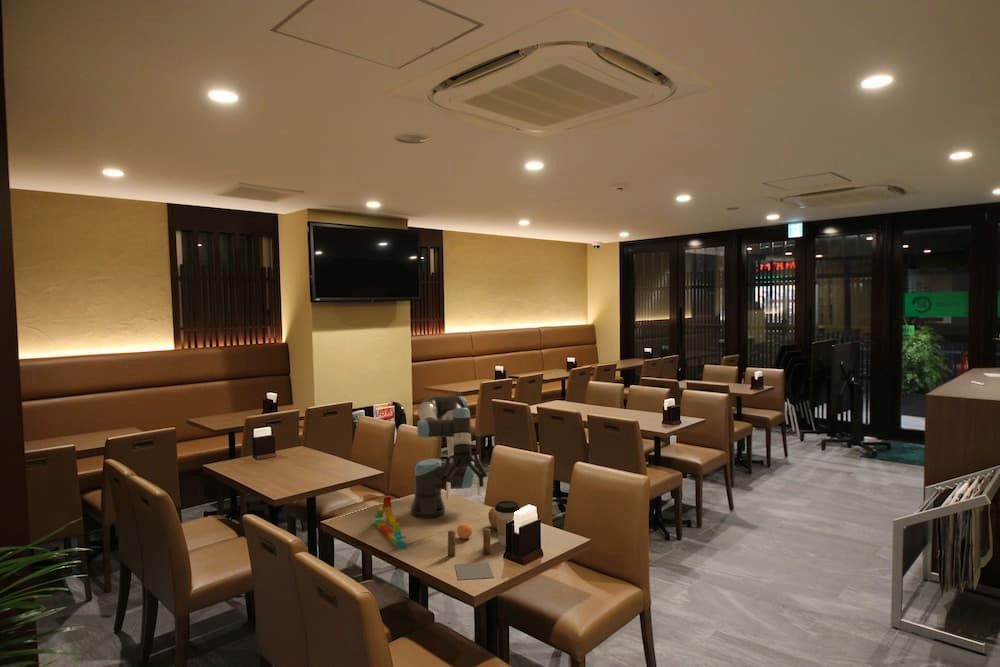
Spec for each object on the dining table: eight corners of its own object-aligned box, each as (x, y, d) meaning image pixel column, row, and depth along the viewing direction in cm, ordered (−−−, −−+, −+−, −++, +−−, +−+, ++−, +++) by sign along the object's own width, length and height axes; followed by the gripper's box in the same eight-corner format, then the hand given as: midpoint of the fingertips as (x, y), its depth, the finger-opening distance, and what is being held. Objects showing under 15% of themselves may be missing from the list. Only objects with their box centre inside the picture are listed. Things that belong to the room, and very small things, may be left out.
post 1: (447, 554, 216) (447, 530, 216) (454, 554, 217) (454, 530, 216) (448, 557, 214) (448, 533, 213) (455, 557, 214) (455, 532, 214)
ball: (456, 535, 235) (456, 521, 234) (471, 535, 236) (471, 520, 235) (457, 541, 229) (457, 526, 228) (472, 540, 230) (473, 525, 229)
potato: (497, 536, 234) (497, 517, 234) (483, 525, 247) (483, 506, 247) (519, 533, 238) (519, 513, 238) (504, 521, 251) (504, 503, 251)
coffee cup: (522, 545, 226) (523, 506, 225) (498, 548, 223) (498, 509, 222) (515, 536, 235) (515, 499, 234) (491, 538, 232) (491, 501, 232)
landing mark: (454, 564, 207) (454, 564, 207) (488, 562, 209) (488, 562, 209) (458, 580, 196) (458, 579, 196) (493, 577, 198) (493, 577, 198)
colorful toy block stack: (407, 548, 222) (407, 509, 222) (399, 550, 221) (399, 510, 220) (381, 523, 249) (381, 488, 248) (374, 524, 247) (374, 489, 247)
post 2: (482, 552, 218) (483, 528, 218) (489, 552, 219) (489, 528, 219) (483, 555, 216) (484, 531, 216) (490, 554, 216) (490, 530, 216)
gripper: (431, 447, 245) (432, 499, 237) (486, 439, 238) (489, 492, 230) (439, 450, 252) (440, 501, 243) (493, 442, 244) (496, 494, 236)
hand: (464, 497), depth 236 cm, fingers open, 13 cm apart
